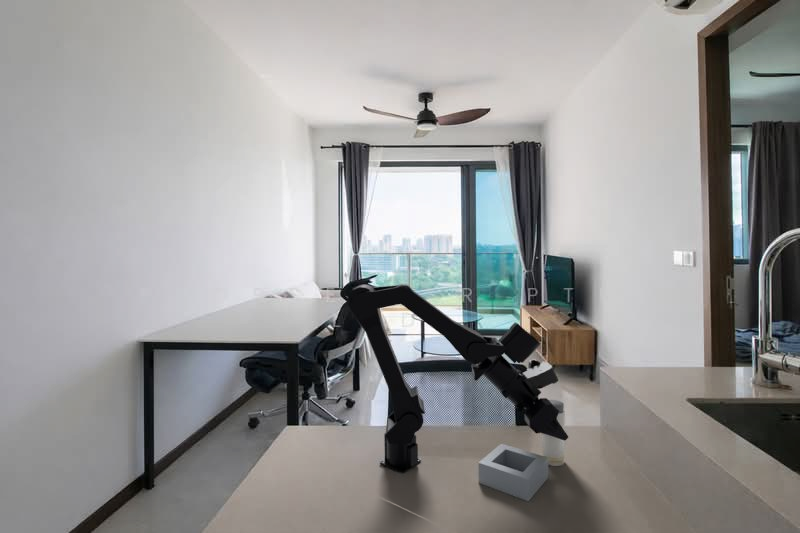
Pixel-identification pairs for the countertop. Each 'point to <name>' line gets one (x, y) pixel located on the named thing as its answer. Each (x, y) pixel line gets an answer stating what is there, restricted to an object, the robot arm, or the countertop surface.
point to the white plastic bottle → (554, 440)
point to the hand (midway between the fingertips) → (558, 428)
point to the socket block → (513, 471)
